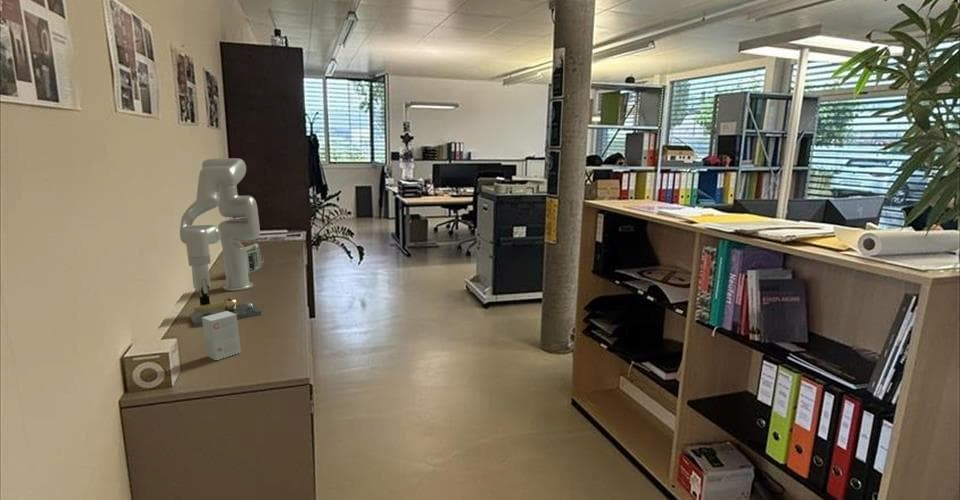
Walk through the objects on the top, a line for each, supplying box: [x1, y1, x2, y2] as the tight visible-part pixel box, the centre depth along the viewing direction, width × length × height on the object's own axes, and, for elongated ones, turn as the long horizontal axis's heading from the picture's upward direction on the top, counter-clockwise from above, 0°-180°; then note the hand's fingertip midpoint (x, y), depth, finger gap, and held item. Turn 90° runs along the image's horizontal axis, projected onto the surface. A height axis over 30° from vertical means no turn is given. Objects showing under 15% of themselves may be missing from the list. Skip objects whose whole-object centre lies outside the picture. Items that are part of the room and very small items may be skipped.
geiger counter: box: [244, 243, 265, 274], centre depth 275 cm, size 14×6×25 cm
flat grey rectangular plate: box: [188, 301, 262, 328], centre depth 204 cm, size 14×23×4 cm, turn 126°
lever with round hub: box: [192, 297, 238, 314], centre depth 204 cm, size 4×15×4 cm, turn 126°
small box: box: [202, 311, 242, 361], centre depth 165 cm, size 8×6×13 cm
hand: (205, 306), depth 207 cm, fingers closed
